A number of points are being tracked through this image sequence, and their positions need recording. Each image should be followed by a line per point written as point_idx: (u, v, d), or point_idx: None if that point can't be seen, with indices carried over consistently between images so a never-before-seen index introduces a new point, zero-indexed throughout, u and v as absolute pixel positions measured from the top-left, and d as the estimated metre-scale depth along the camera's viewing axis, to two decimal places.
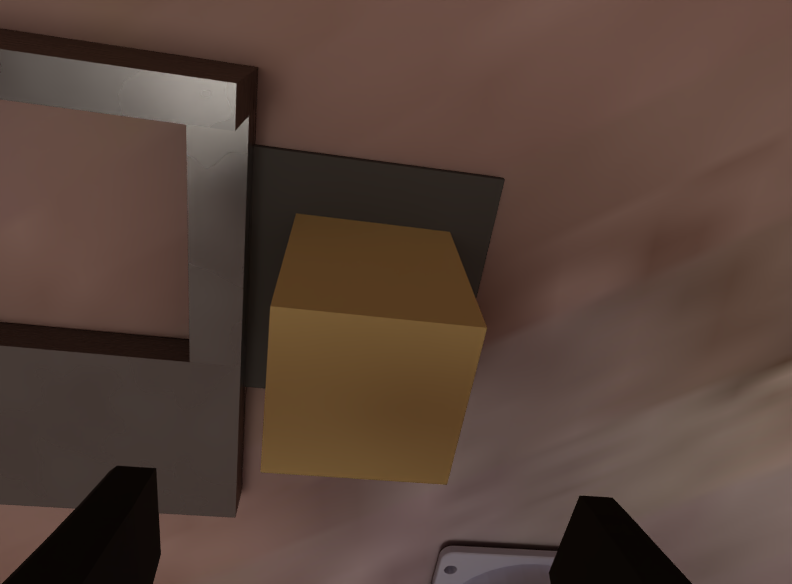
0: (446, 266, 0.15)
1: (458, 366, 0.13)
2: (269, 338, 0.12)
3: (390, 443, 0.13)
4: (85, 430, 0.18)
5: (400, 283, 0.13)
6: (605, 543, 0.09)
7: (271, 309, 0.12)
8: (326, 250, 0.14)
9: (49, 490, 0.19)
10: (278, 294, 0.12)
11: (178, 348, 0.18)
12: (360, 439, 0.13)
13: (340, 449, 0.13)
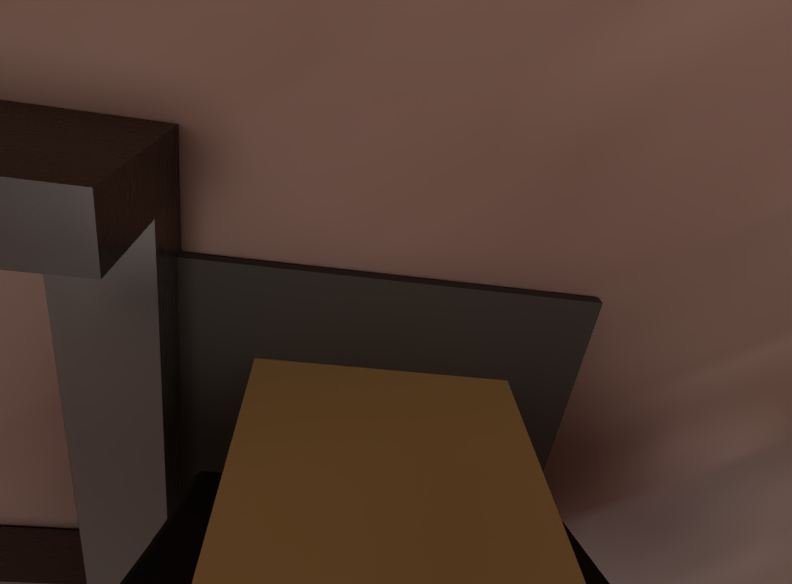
0: (517, 485, 0.08)
1: None
2: None
3: None
4: None
5: (440, 559, 0.07)
6: None
7: None
8: (300, 463, 0.08)
9: None
10: None
11: (74, 553, 0.11)
12: None
13: None
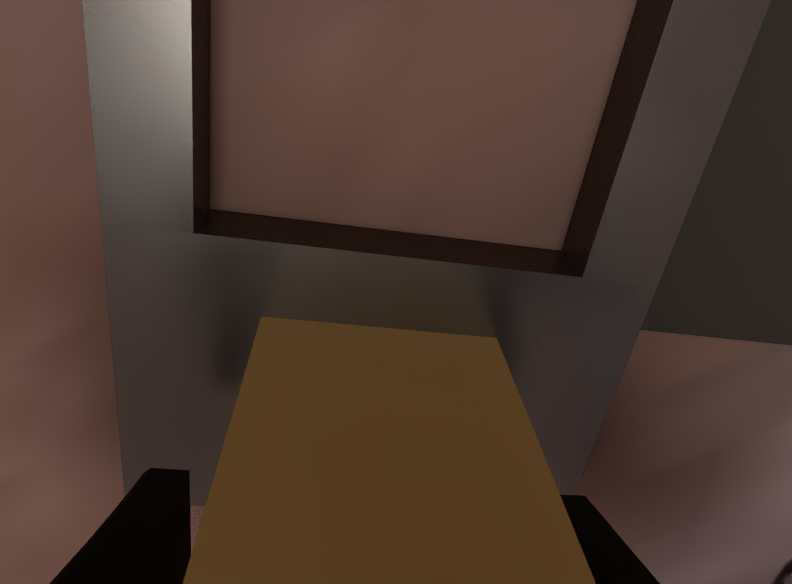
0: (503, 423, 0.09)
1: None
2: None
3: None
4: None
5: (430, 479, 0.08)
6: None
7: None
8: (304, 402, 0.09)
9: None
10: (203, 545, 0.06)
11: (545, 259, 0.11)
12: None
13: None
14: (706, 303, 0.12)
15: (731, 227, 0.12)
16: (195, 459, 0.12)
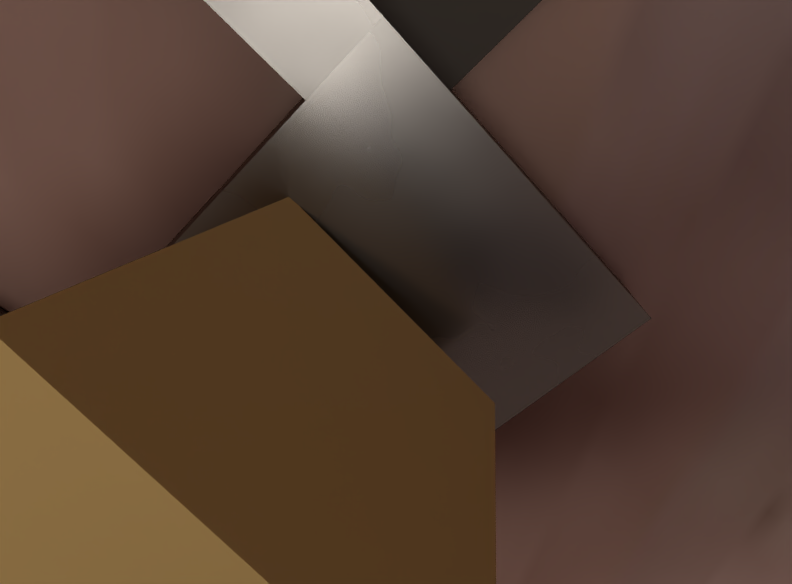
0: None
1: (74, 475, 0.04)
2: None
3: None
4: None
5: None
6: None
7: None
8: None
9: None
10: None
11: (287, 116, 0.09)
12: None
13: None
14: None
15: None
16: None
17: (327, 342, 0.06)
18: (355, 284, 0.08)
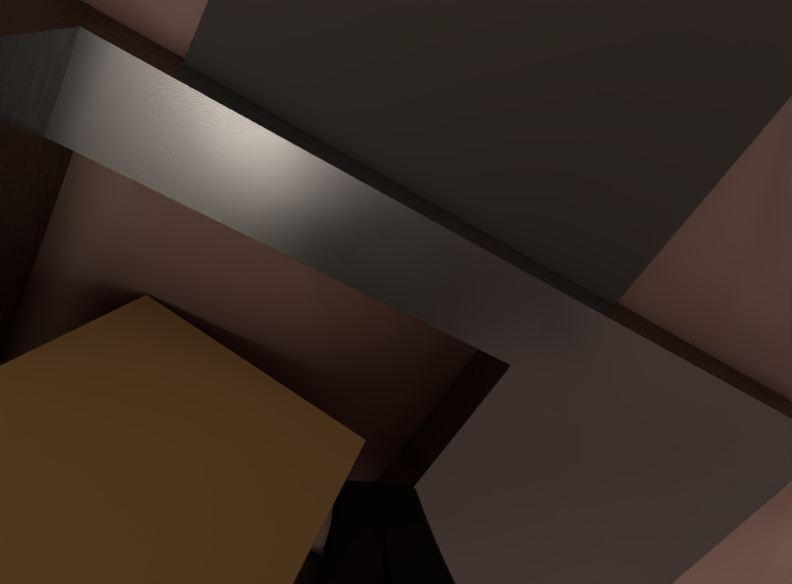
0: None
1: None
2: None
3: None
4: (535, 542, 0.12)
5: None
6: None
7: None
8: None
9: None
10: None
11: (485, 364, 0.10)
12: None
13: None
14: (653, 195, 0.09)
15: (563, 153, 0.09)
16: None
17: (135, 427, 0.07)
18: (202, 362, 0.09)
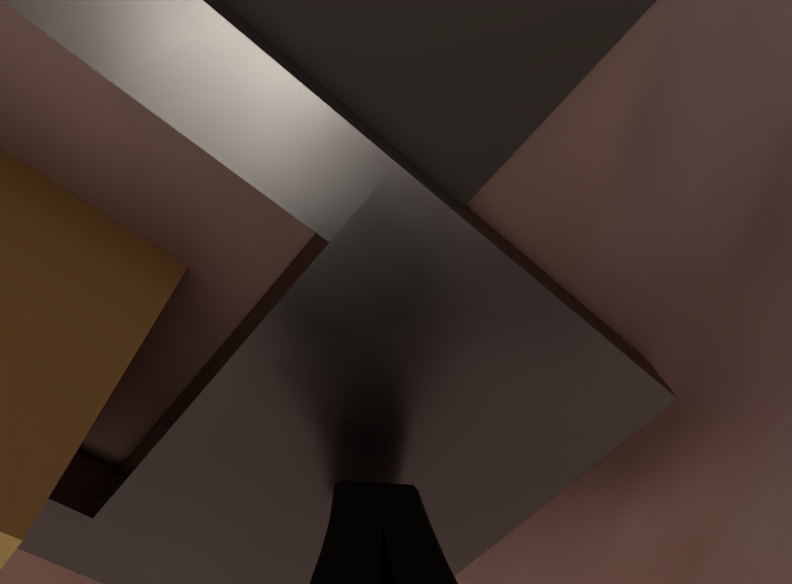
0: None
1: None
2: None
3: None
4: (350, 470, 0.10)
5: None
6: (381, 531, 0.08)
7: None
8: None
9: None
10: None
11: (311, 249, 0.09)
12: None
13: None
14: (514, 77, 0.08)
15: (417, 2, 0.08)
16: None
17: None
18: None
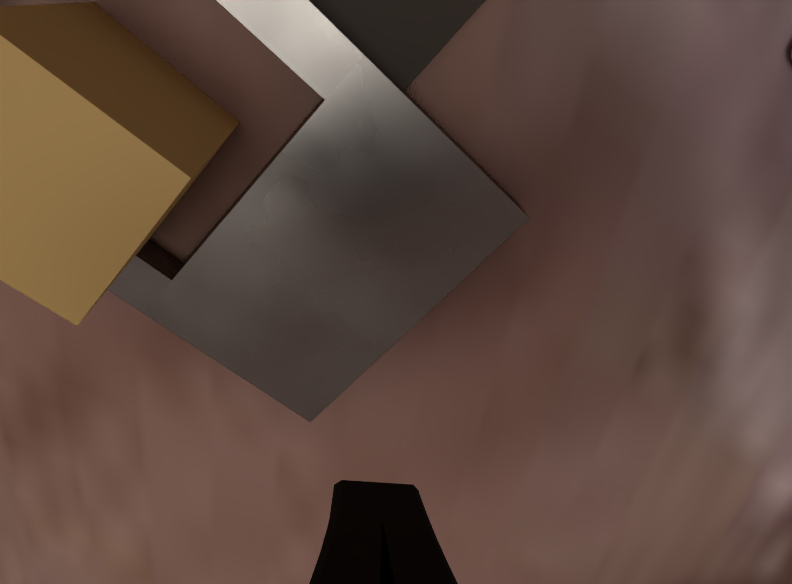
0: None
1: (10, 69, 0.10)
2: None
3: (97, 197, 0.12)
4: (331, 256, 0.17)
5: None
6: (381, 531, 0.08)
7: None
8: None
9: (368, 337, 0.18)
10: None
11: (314, 110, 0.16)
12: (75, 221, 0.12)
13: (80, 245, 0.12)
14: (431, 14, 0.15)
15: None
16: (307, 374, 0.19)
17: (119, 62, 0.13)
18: (141, 49, 0.15)
